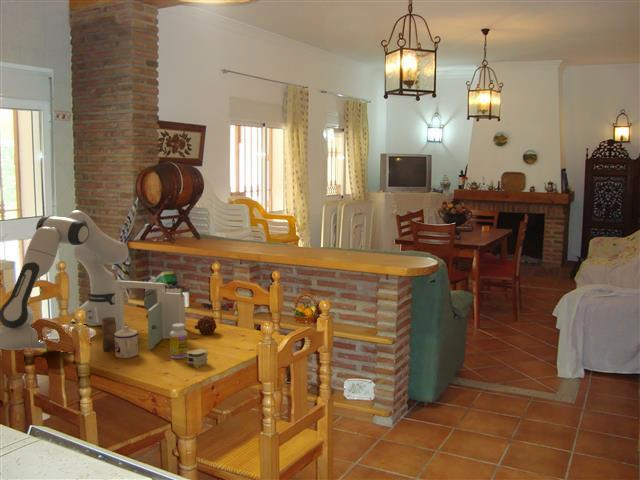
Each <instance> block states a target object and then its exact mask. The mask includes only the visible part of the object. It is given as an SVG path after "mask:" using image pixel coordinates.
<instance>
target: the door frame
mask: <svg viewBox="0 0 640 480" xmlns="http://www.w3.org/2000/svg"><path fill="white" fill-rule="evenodd" d="M114 287H115V310H116V322H115V329H116V332H117V331H120V330H121V329H123V327H124V326H125V310H124V308H125V307H124V288H127V289H128V288H130V289H145V290H146V289H154V290H157V302H161V303H162V334H163V338H162V339H167V340H168V339H169V340H170V333H171V331H173V328H172V325H173V324H177V323H182V319H181V293H166V292H165V288H166V283H165V282H151V281H150V282H149V281H137V280H136V281H135V280H123V279H117V280H116V279H115V281H114ZM162 339H161V340H162Z"/></svg>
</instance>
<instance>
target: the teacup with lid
mask: <svg viewBox="0 0 640 480" xmlns="http://www.w3.org/2000/svg"><path fill="white" fill-rule="evenodd" d="M138 335H139V332H138V330H135V329H132V328H130V327H129V326H128V325H124V327H123V329H121V330H120V331H117V332H115V334H114V336H115V351H114V352H115V357H116V358H118V359H130V358H134V357H136V356H137V355H139V340H138V339H139V337H138Z"/></svg>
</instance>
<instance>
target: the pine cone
mask: <svg viewBox="0 0 640 480" xmlns="http://www.w3.org/2000/svg"><path fill="white" fill-rule="evenodd" d="M193 327H194V330H198V333H200V334H201V335H203V334H204V335H207V336H208V335H209V336H210V335H211V334H212V333H214V332H215V330H216V329H217V324H216V320H215V319H214V318H213V317H211V316H208V315H204V317H202V318H199V319H198V320H197V322H196V323H195V325H194V326H193Z"/></svg>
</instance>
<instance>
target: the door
mask: <svg viewBox="0 0 640 480" xmlns="http://www.w3.org/2000/svg"><path fill="white" fill-rule="evenodd" d="M147 312H148V317H147V331H148V334H147V335H148V349H149V350H152V349H153V348H154V347H155V346H156V345H157V344H158V343H159V342H160V341H161V340H162V338H163V334H162V303H161V302H157V303H156V304H155V305H154V306H153V307H151V308H150V309H149V310H148V311H147Z"/></svg>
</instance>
